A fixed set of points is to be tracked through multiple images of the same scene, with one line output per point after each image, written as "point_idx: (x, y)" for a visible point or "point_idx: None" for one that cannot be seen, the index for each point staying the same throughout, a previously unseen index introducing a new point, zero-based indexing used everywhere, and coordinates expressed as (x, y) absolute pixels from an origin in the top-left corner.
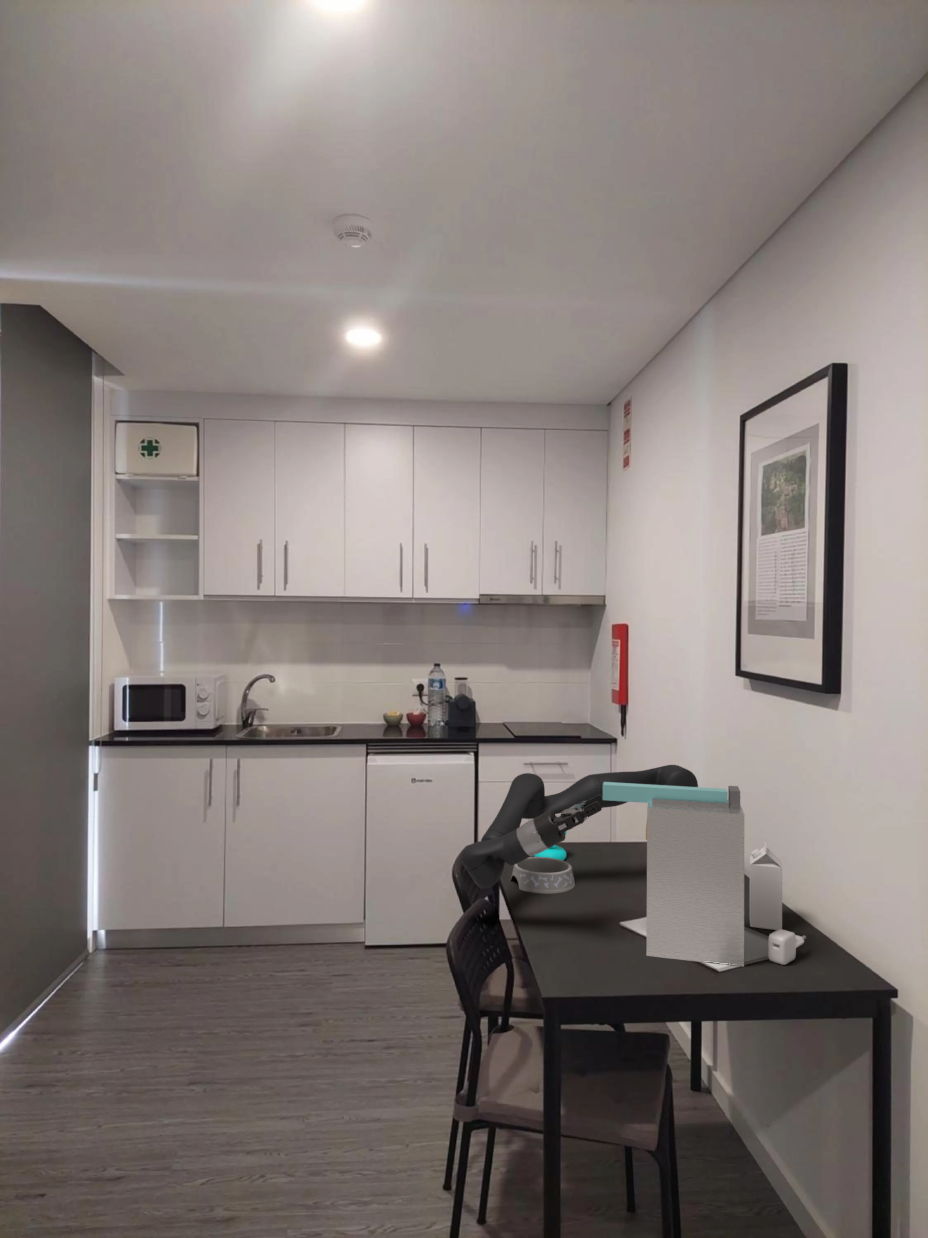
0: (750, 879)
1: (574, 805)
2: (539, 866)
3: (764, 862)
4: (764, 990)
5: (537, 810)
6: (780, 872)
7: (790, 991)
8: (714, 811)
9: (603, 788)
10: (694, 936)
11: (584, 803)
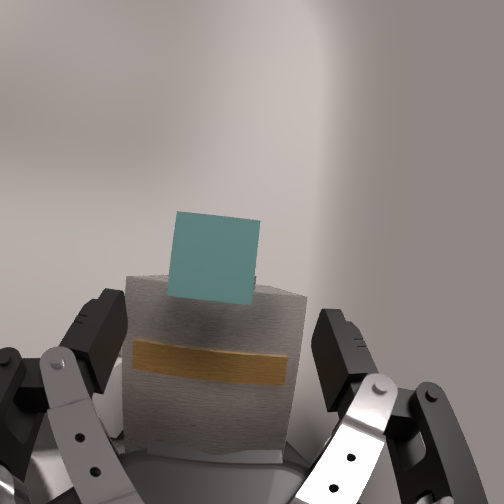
0: (113, 386)
1: (80, 424)
2: None
3: None
4: (300, 459)
5: None
6: None
7: (290, 447)
8: (269, 287)
9: (256, 241)
10: None
11: (78, 370)
